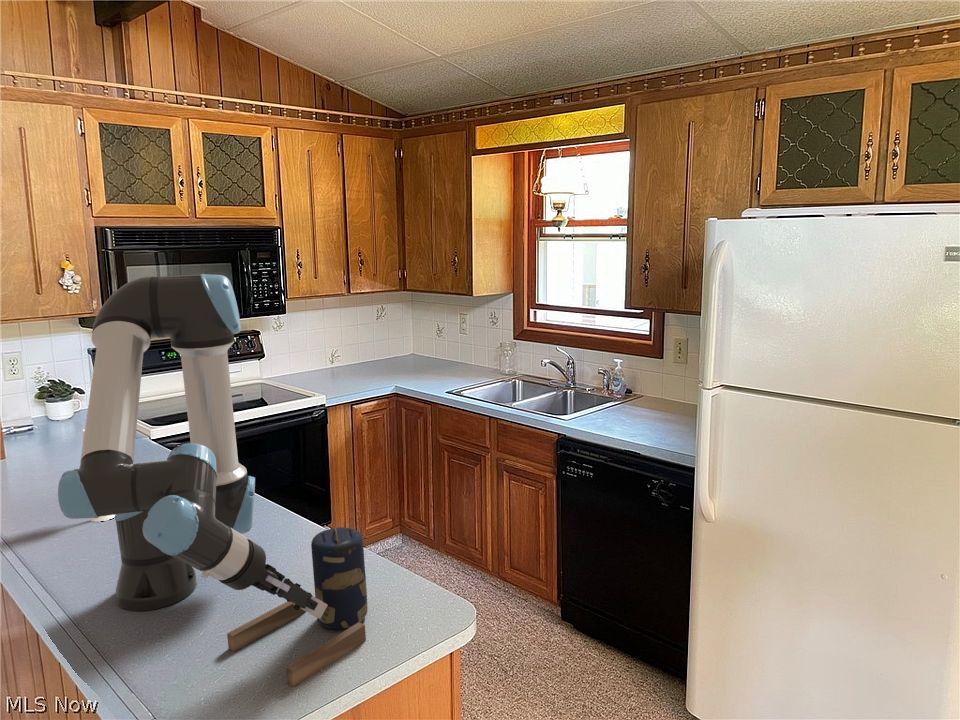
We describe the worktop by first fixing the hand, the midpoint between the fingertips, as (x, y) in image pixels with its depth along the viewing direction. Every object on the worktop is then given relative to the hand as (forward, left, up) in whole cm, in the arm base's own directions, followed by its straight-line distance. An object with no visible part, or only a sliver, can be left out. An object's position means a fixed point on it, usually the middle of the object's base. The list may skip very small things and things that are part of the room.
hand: (321, 610), depth 127 cm
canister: (-1, +6, -5) cm, 8 cm away
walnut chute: (-1, -5, -5) cm, 7 cm away
